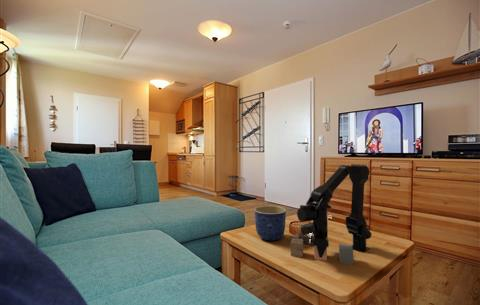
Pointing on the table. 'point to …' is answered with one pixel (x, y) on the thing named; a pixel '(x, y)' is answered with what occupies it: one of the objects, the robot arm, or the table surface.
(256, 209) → the planter
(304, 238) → the walkie-talkie
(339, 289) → the table surface
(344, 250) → the charcoal block
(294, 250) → the walnut block
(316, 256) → the terracotta block
